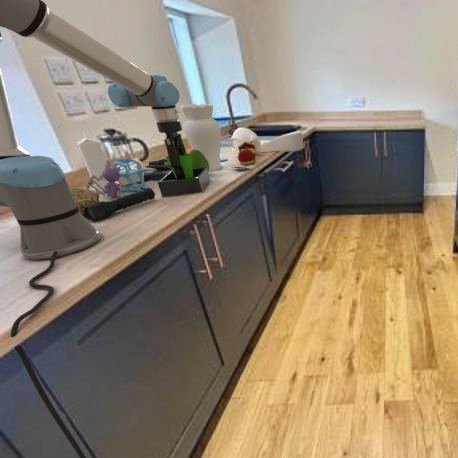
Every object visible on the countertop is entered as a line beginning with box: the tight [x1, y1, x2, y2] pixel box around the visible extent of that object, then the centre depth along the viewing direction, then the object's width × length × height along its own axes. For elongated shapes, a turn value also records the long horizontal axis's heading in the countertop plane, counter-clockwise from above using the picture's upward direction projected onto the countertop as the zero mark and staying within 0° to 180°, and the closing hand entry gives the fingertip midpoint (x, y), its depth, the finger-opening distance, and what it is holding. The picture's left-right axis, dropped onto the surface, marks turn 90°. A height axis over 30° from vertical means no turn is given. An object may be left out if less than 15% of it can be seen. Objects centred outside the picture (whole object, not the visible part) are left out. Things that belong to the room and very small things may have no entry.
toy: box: [220, 157, 228, 162], centre depth 184 cm, size 14×1×10 cm
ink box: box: [117, 157, 145, 187], centre depth 149 cm, size 8×5×12 cm
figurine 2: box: [237, 141, 258, 166], centre depth 176 cm, size 9×10×15 cm
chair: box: [112, 158, 147, 192], centre depth 138 cm, size 8×8×12 cm
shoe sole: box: [257, 130, 305, 154], centre depth 202 cm, size 36×13×10 cm, turn 87°
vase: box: [178, 102, 222, 172], centre depth 162 cm, size 15×15×29 cm
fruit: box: [189, 149, 209, 172], centre depth 153 cm, size 8×8×12 cm
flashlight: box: [83, 187, 156, 222], centre depth 117 cm, size 5×21×5 cm, turn 162°
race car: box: [144, 158, 171, 169], centre depth 159 cm, size 15×7×4 cm, turn 173°
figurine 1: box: [103, 163, 121, 198], centre depth 131 cm, size 5×7×12 cm
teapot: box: [230, 127, 261, 154], centre depth 188 cm, size 25×16×12 cm
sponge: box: [70, 187, 101, 215], centre depth 117 cm, size 13×8×20 cm
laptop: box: [230, 165, 251, 170], centre depth 163 cm, size 7×6×2 cm
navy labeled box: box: [144, 168, 172, 181], centre depth 156 cm, size 18×3×10 cm
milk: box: [76, 133, 116, 193], centre depth 137 cm, size 6×6×22 cm
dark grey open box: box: [157, 167, 211, 198], centre depth 139 cm, size 18×14×6 cm
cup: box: [164, 152, 193, 179], centre depth 137 cm, size 9×9×11 cm
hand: (185, 180), depth 138 cm, fingers closed on cup, 8 cm apart
